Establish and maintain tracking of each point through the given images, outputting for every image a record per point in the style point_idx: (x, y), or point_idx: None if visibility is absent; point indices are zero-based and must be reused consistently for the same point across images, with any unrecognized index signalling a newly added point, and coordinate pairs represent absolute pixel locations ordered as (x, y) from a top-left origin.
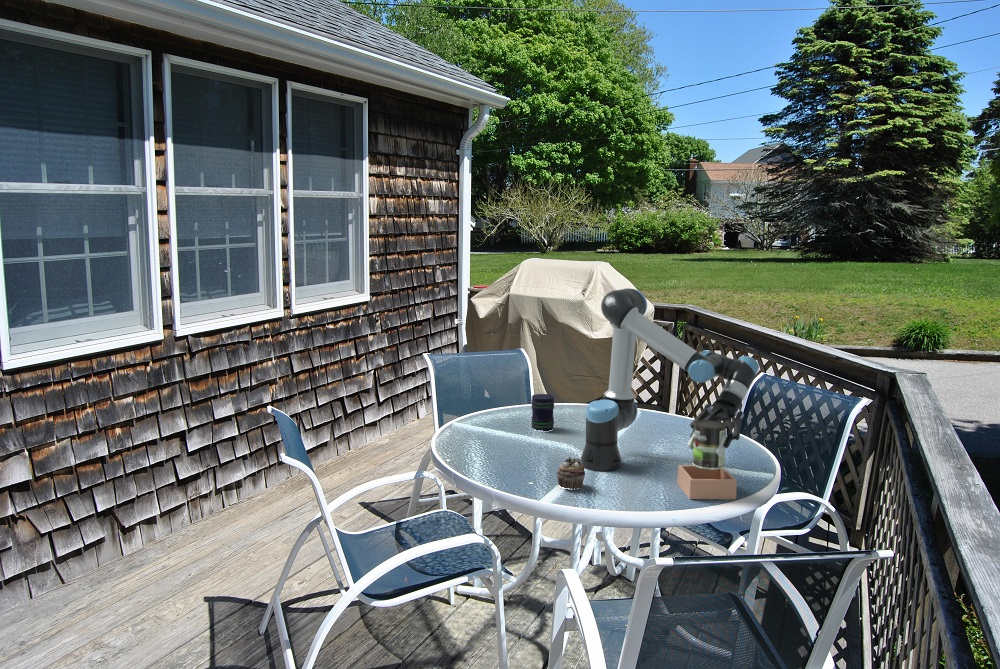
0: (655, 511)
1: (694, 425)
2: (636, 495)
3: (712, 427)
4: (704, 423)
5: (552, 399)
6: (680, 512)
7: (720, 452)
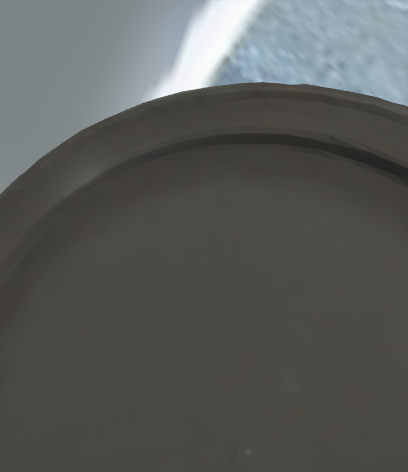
0: (239, 26)
1: None
2: (387, 67)
3: (46, 254)
4: (371, 412)
5: None
6: (186, 83)
7: None
